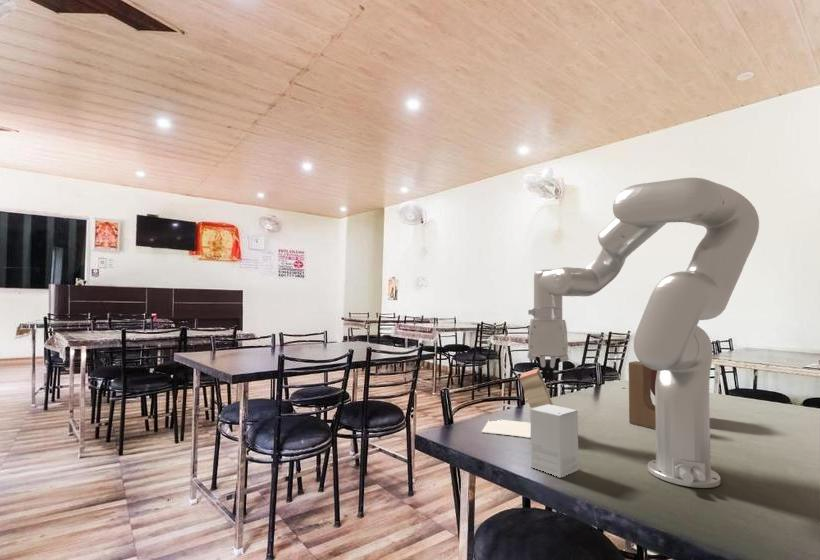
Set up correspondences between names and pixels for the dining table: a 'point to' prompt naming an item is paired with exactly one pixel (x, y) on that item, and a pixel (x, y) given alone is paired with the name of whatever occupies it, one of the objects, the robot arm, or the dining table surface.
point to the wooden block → (640, 396)
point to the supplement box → (554, 439)
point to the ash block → (535, 388)
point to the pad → (508, 428)
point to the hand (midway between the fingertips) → (547, 381)
